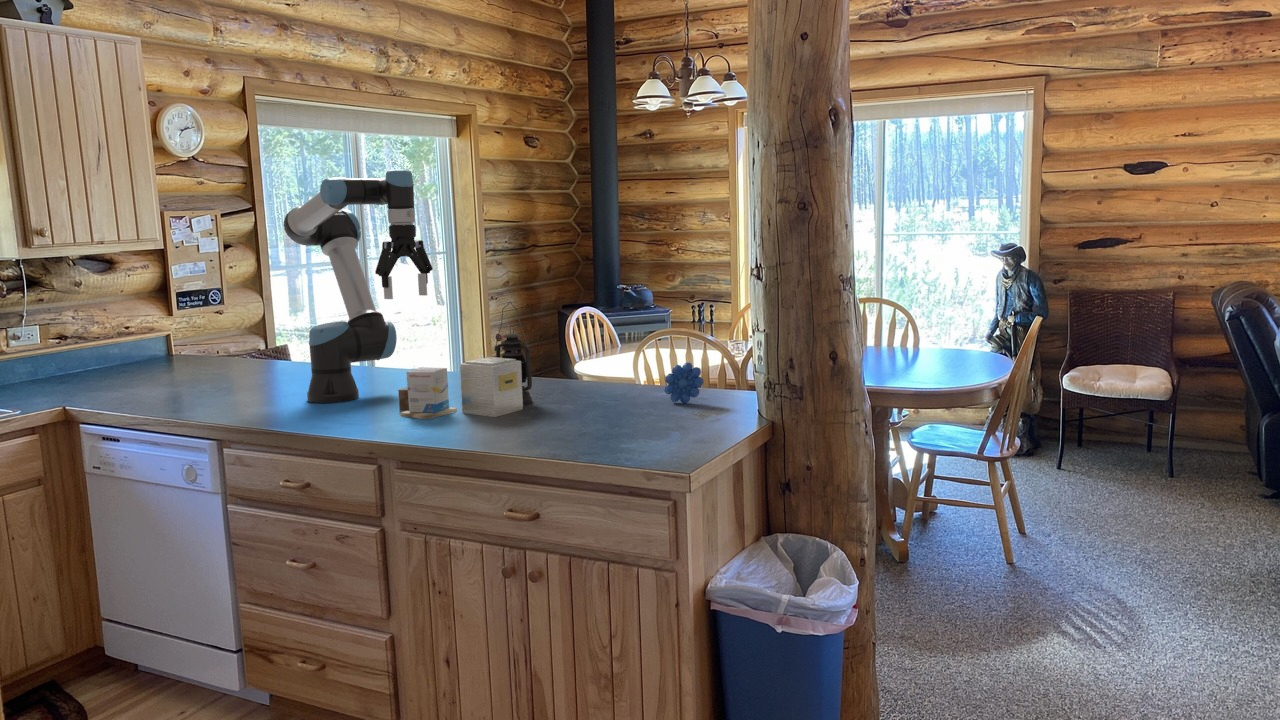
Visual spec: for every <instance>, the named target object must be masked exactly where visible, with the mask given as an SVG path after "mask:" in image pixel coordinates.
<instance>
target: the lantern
mask: <svg viewBox="0 0 1280 720" xmlns="http://www.w3.org/2000/svg"><path fill="white" fill-rule="evenodd" d="M509 305H511V306H512V308H514V309H515V310H516V314H517V318H518V322H519V326H520V329H521V332H522V334H523V335H521V334H518V333H515V329H514V327H515V326H514V325H510V326H509V333H507V334H505V335H502V338H506V340H502V341H500V343H499V344H498V341H499V336H500V331H501V329H502V326H503V318H504V317H503V315H504V309H505V308H507V307H508V306H509ZM518 312H519V311H518V309H517V307H516V306H515V305H513V303H512V301H509V302H508V303H507V304H506V305H504V307H502V309H501V320H500V327H499V330H498V333H497V338H496V341H495V346H494V351H495V357H497V358H509V359H516V361H521V372H522V397H523V406H527V405H530V404H532V403H533V398H532V396H531V394H530V391H529V390H531V389H532V386H533V380H532V379H533V378H532V377H533V376H532V367H531V356H530V353H531V352H532V348H531V347H530V346H529V345H528V342H527V338H526V336H525V332H524V330H523V328H522V324H521V320H520V316H519V313H518ZM511 327H512V328H511ZM522 336H523V337H524V340H520V339H519V338H521V337H522ZM524 343H525V344H524ZM501 349H502V350H503V353H502V354H501ZM522 350H524V351H525V356H524V353H523V352H522ZM501 355H502V356H501ZM524 383H526V384H527V385H526V387H525V386H524V385H523V384H524Z"/></svg>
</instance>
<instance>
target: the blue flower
mask: <svg viewBox="0 0 1280 720" xmlns="http://www.w3.org/2000/svg"><path fill="white" fill-rule="evenodd" d="M671 369H672V372H671V373H668V374H667V375H666V376H665V380H664V381H665V383H666V385H665V387H664V393H665V394H666V395H670V397H669V398H670V401H672V402H673V403H677V402H678V401H680V402H681V403H682V404H687V403H689V402H690V400H691V398H697V397H698V396H699V395H700V389H699V388H701V387H703V385H704V378H703V377H702V376H700V375H701V373H702V369H701V368H700V367H697V366H696V367H693V364H692V363H691V362H685V363H684V364H683V365H682V366H681V365H679V364H676V365H674V366H673V367H672V368H671Z"/></svg>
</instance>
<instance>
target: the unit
mask: <svg viewBox="0 0 1280 720" xmlns="http://www.w3.org/2000/svg"><path fill="white" fill-rule="evenodd" d="M459 368H460V371H459V372H460V388H461V389H460V390H461V408H462V409H461V410H462V414H467V415H472V416H473V415H474V416H483V417H490V418H497V417H501V416H504V415H508V414H511V413H515V412H519V411H522V410H524V405H523V397H522V386H523V384H522V372H521V361H516V359H509V358H502V357H500V358H497V357H496V356H495V357H493V356H486V357H483V358H482V357H481V358H476V359H472V360H467V361H465V362H464V363H460V364H459Z"/></svg>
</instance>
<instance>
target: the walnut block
mask: <svg viewBox="0 0 1280 720" xmlns="http://www.w3.org/2000/svg"><path fill="white" fill-rule="evenodd" d="M397 391H398V406H399V407H398V409H399V411H404V412H405V411H409V400H408V387H407V386H405V387H404V388H401V389H398V390H397Z"/></svg>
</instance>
